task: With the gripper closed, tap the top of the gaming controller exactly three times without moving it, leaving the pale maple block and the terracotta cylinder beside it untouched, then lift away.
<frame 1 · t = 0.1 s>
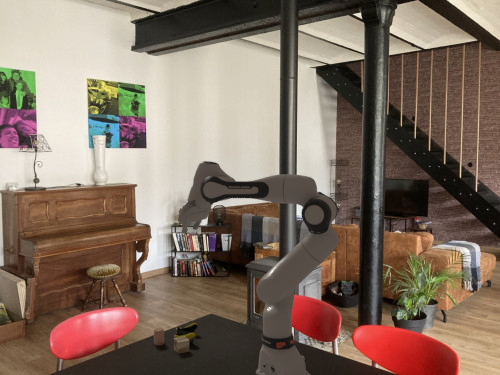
hand: (189, 231, 188), 52 cm above the table, tool tilted 20°, fingers open, 8 cm apart
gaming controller: (186, 340, 208), on the table
terracotta cylinder: (159, 343, 204), on the table
maple block: (181, 350, 196), on the table
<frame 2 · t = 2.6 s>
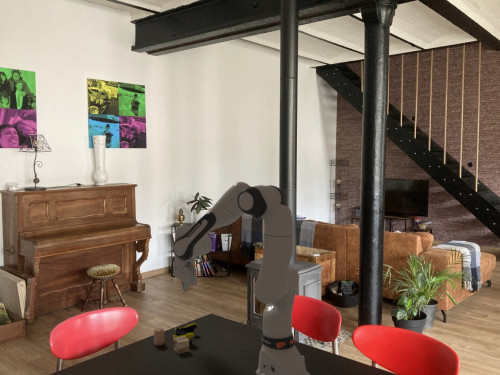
hand: (185, 290, 206), 22 cm above the table, tool pointing down, fingers closed
nothing on the table moved.
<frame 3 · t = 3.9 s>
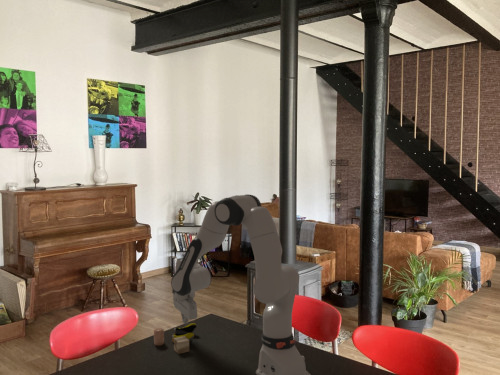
hand: (185, 322, 207), 8 cm above the table, tool pointing down, fingers closed
nothing on the table moved.
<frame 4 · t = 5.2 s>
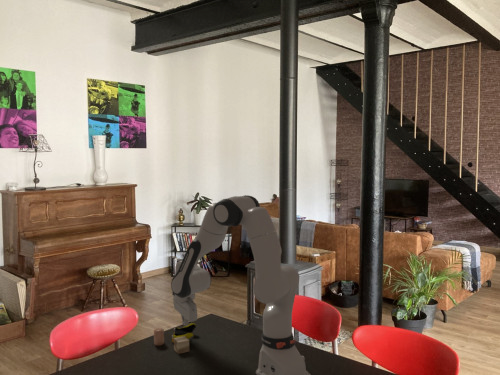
hand: (185, 324, 207), 7 cm above the table, tool pointing down, fingers closed
nothing on the table moved.
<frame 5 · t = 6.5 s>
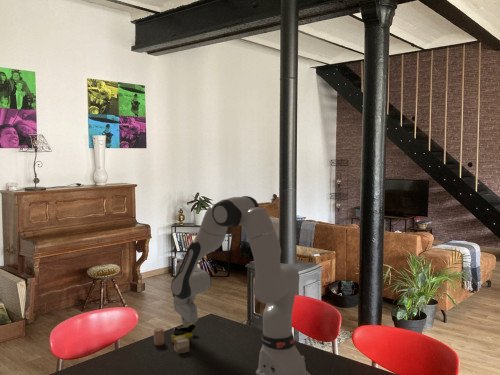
hand: (185, 326, 207), 6 cm above the table, tool pointing down, fingers closed
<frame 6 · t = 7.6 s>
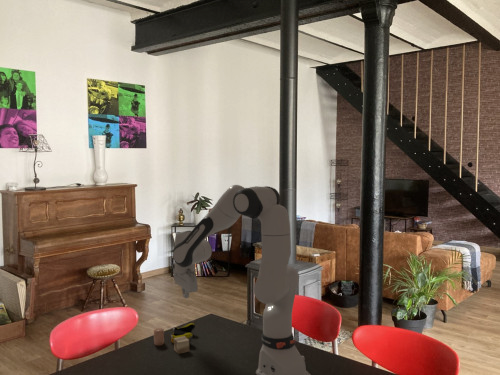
hand: (185, 297, 206), 19 cm above the table, tool pointing down, fingers closed
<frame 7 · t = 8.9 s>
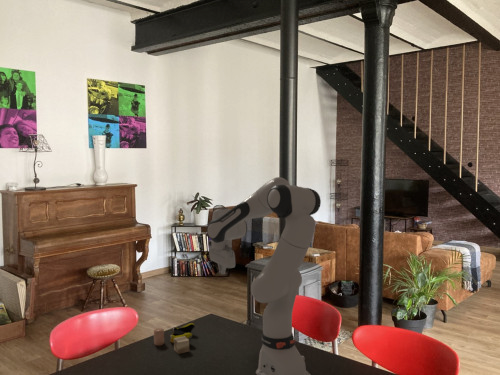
hand: (222, 273, 209), 29 cm above the table, tool pointing down, fingers closed
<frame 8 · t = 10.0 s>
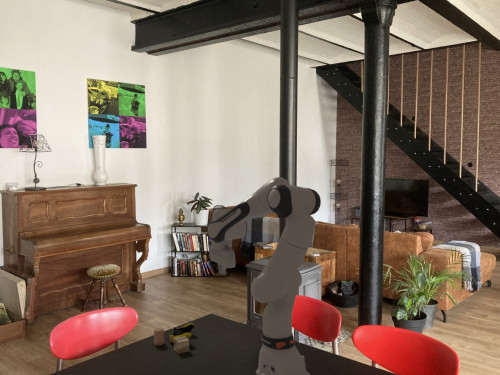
hand: (222, 273, 209), 29 cm above the table, tool pointing down, fingers closed
at the end: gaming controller moved 1.9 cm from its start; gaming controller tilted 1°; the gripper is holding nothing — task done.
